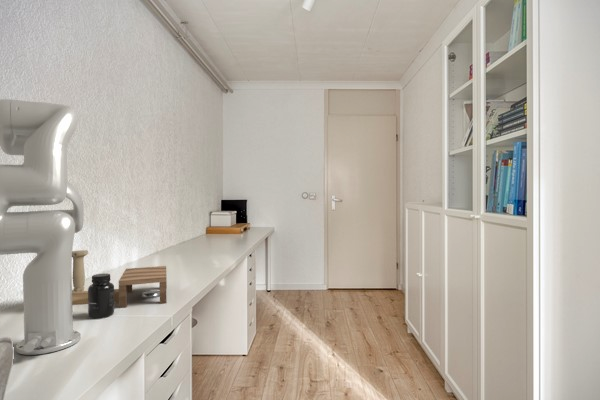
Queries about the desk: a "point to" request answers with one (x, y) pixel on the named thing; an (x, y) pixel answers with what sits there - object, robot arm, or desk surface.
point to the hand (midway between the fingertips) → (53, 303)
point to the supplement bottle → (100, 297)
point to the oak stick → (82, 297)
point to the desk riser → (142, 281)
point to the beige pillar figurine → (78, 269)
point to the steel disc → (150, 294)
